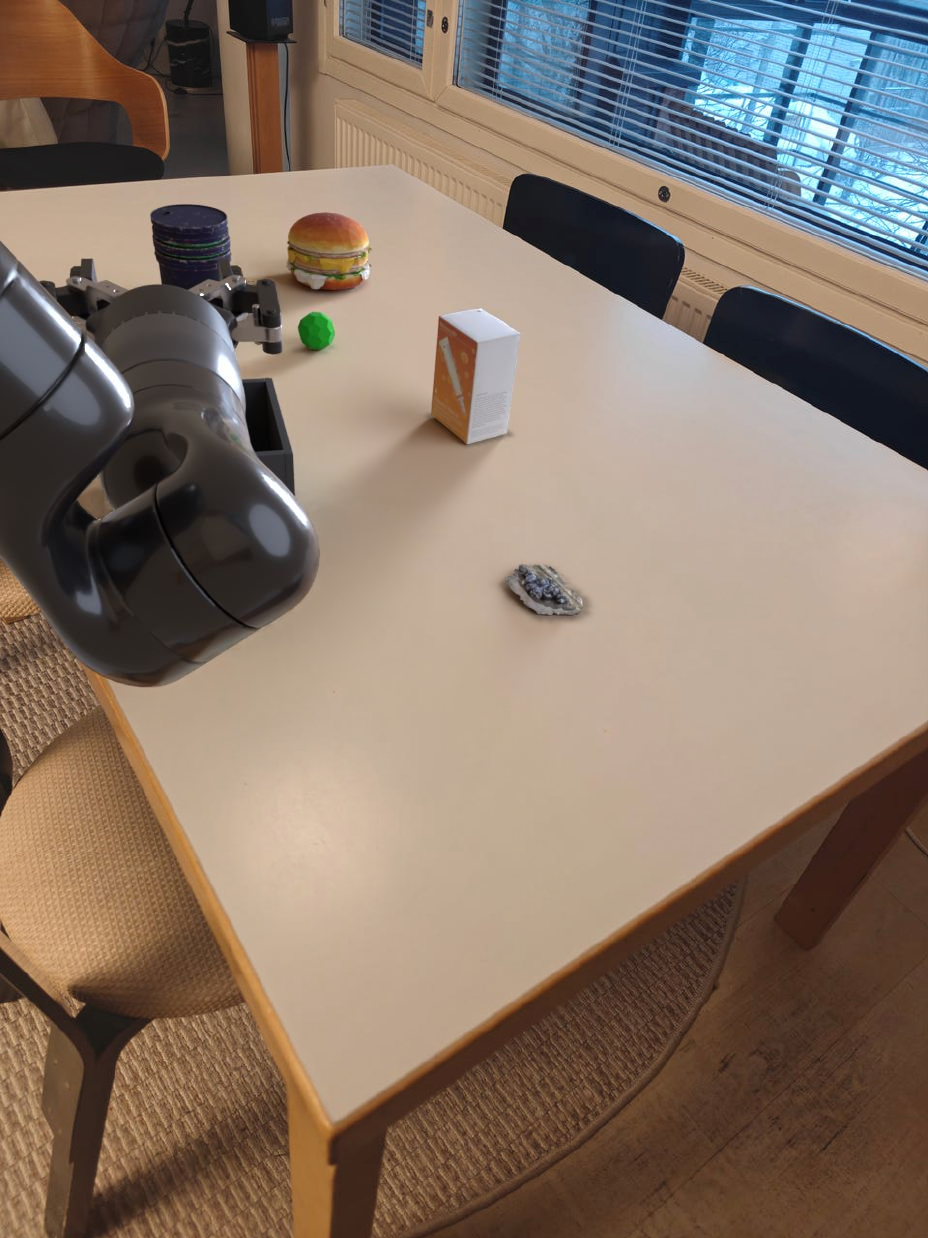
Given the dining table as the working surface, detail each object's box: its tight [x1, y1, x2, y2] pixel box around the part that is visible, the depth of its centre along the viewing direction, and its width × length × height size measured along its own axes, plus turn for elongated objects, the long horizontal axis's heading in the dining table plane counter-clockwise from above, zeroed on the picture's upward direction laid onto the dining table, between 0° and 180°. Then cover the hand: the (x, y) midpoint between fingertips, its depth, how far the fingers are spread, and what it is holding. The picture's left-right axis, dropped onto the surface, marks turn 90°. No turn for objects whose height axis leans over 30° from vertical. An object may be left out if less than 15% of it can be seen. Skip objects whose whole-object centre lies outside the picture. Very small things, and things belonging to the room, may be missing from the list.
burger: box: [286, 211, 373, 291], centre depth 136 cm, size 13×14×10 cm
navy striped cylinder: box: [149, 203, 232, 290], centre depth 117 cm, size 10×10×15 cm
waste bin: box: [241, 377, 296, 497], centre depth 86 cm, size 16×16×10 cm
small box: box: [430, 307, 521, 445], centre depth 103 cm, size 8×6×13 cm
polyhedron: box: [297, 311, 336, 351], centre depth 118 cm, size 5×5×5 cm
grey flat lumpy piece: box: [504, 563, 584, 616], centre depth 83 cm, size 7×8×2 cm
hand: (158, 272), depth 57 cm, fingers open, 8 cm apart
